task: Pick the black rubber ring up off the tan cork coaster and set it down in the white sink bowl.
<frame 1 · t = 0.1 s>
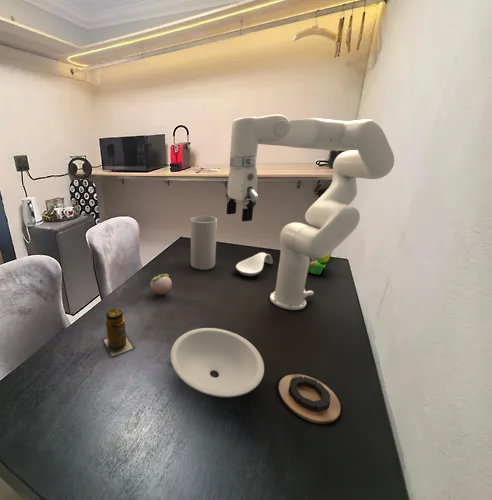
hand: (238, 217, 86), 37 cm above the table, tool pointing down, fingers open, 9 cm apart
white sink bowl: (214, 375, 73), on the table
condiment: (118, 345, 87), on the table
ring: (308, 395, 65), point 1 cm above the table, touching coaster
spoon rest: (255, 270, 130), on the table
fruit basket: (315, 270, 126), on the table
decorative fruit: (162, 294, 114), on the table
coaster: (307, 397, 65), on the table
cylinder vase: (202, 265, 138), on the table
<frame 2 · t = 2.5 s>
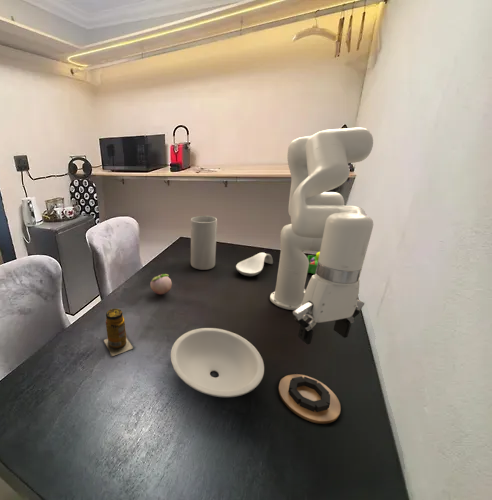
hand: (322, 337, 62), 16 cm above the table, tool pointing down, fingers open, 9 cm apart
nothing on the table moved.
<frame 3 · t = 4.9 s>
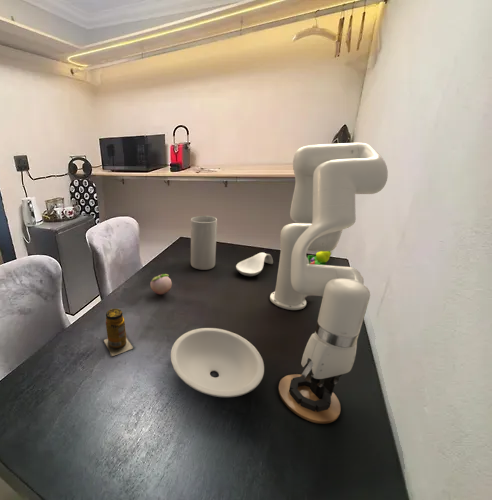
hand: (320, 392, 65), 1 cm above the table, tool pointing down, fingers closed, pressing on coaster, ring
ring: (308, 395, 65), point 1 cm above the table, touching gripper
everything else where it was.
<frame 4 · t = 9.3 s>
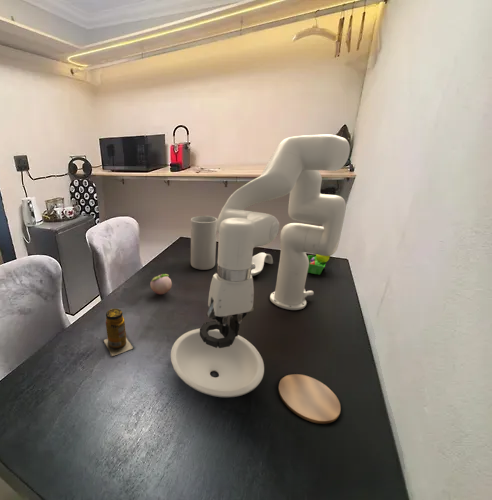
hand: (228, 333, 68), 14 cm above the table, tool pointing down, fingers closed on ring
ring: (217, 336, 68), point 13 cm above the table, touching gripper
everything else where it was.
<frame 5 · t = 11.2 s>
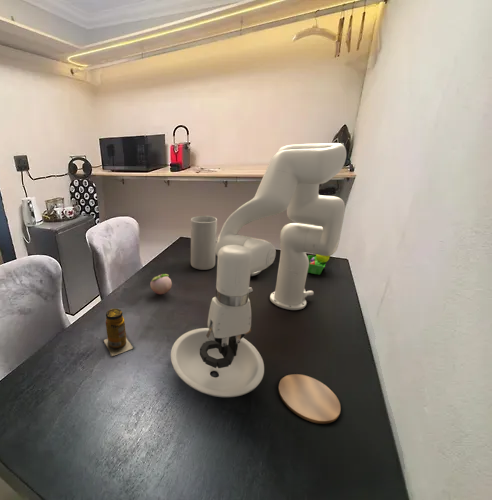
hand: (227, 352, 71), 7 cm above the table, tool pointing down, fingers closed on ring, 2 cm apart
ring: (216, 355, 71), point 7 cm above the table, touching gripper
everything else where it was.
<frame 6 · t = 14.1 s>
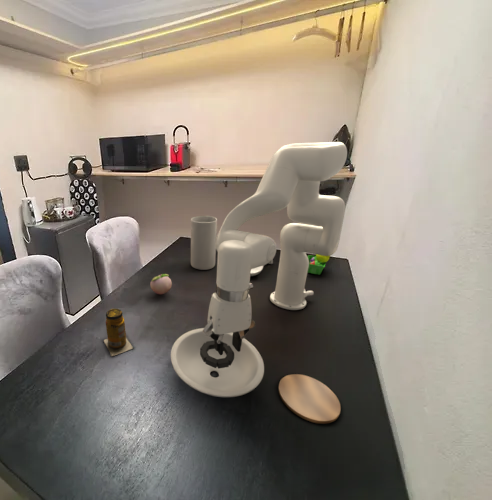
hand: (227, 349, 71), 8 cm above the table, tool pointing down, fingers open, 4 cm apart
white sink bowl: (214, 375, 73), on the table, touching ring
ring: (216, 355, 71), point 7 cm above the table, touching white sink bowl
everything else where it was.
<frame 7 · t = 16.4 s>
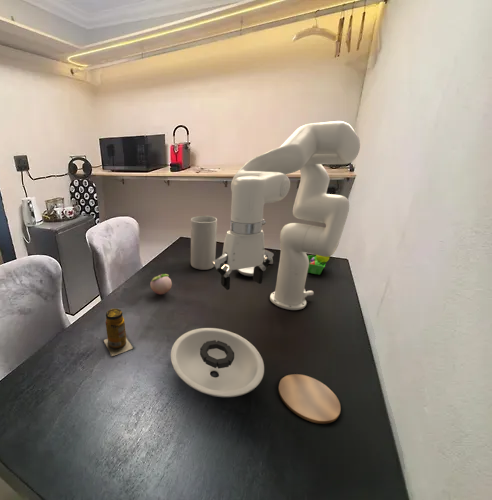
hand: (241, 284, 74), 23 cm above the table, tool pointing down, fingers open, 9 cm apart
nothing on the table moved.
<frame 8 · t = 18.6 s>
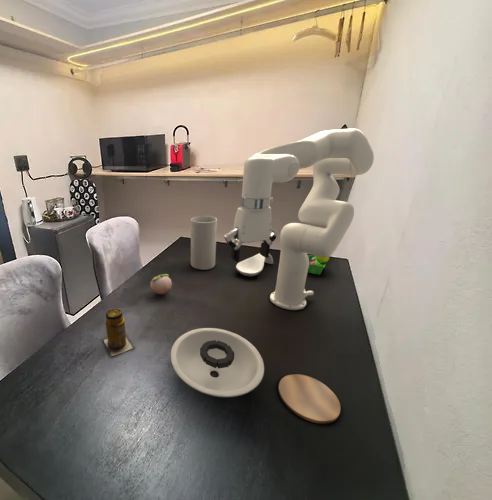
hand: (249, 258, 81), 26 cm above the table, tool pointing down, fingers open, 9 cm apart
nothing on the table moved.
at the end: ring inside the target area in the white sink bowl (0.4 cm from its centre), point 6.8 cm above the white sink bowl's base; the gripper is holding nothing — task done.
